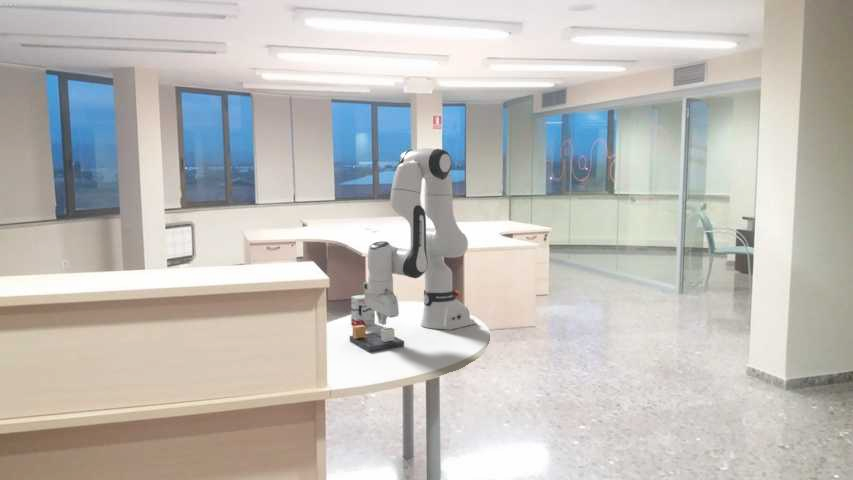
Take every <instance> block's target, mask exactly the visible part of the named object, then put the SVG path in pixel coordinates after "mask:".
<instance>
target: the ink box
mask: <svg viewBox="0 0 853 480" xmlns="http://www.w3.org/2000/svg"><path fill="white" fill-rule="evenodd" d="M350 299H351V300H350V301H351V310H350V311H351V315H350V316H351V317H350V319H351V323H350V325H352V326H358V325H364V326H366V327H367V326H373V325H375V324H376V320H375V319H376V317H375V316H376V311H375V310H373V309H371V308H369V307H367V306H366V303H365V294H358V295H352V296H351V298H350Z"/></svg>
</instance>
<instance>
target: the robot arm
mask: <svg viewBox="0 0 853 480" xmlns="http://www.w3.org/2000/svg"><path fill="white" fill-rule="evenodd" d="M397 164H398V165H397V167H396V170H395V173H394V175H393V180H392V183H391V184H392V185H391V192H390V199H389V201H390V206H391V207H392V209H393V211H394V212H395V213H396V214H397V215H399V216H401V217H402V218H403V219H405V220H406V221H407V222H408V224H409V228H410V248H409V249H406V248H398V247H396V246H393V245H391V244H390V242H388V241H383V240H382V241H377V242H374V243H372V244H370V245H369V247H368V251H367V269H368V279H367V280H368V281H366V282H363V285H362V286H363V287H362V288H363V289H364V295H365V303H366V306H367V307H369V308H371V309H373V310H375V315H376V317H377V320H378V321H377V323H378V324H380V325H381V326H384V325H386V324H387V319H388V318H389V319H390V318H396V317H398V316H399V314H400V312H399V302H398V298H397V295H395V294H394V280H393V279H394V277H393V275H398V276H405V277H408V278H412V279H419V278H420V277H422V276H423V275H424V290H423V304H424V306H423V314H422V319H421V322H420V325H421V327H423V328H427V329H437V330H450V331H451V330H455V329H459V328H465V327H469V326H472V325H475V324H476V320H475V319H473V318H471V316H470V315H471V314H470V310H469V308H468V307H467V306H466V305H464V304H463V303H462V302H461V301H460V300H458V299H457V298H458V297H460V296H461V295H462V292H461V291H460V290H459V291H458V290H453V272H452V269H451V267H449V266H448V265H447V264H446V263H445V261H444V258H449V259H453V258H460V257H462V256H464V255H465V254H466V252H467V250H468V248H469V247H468V246H469V241H468V237H467V236H466V234H464V232H463V231H462V230H461V229H460V228H459V226H458V224H457V222H456V219H455V216H454V206H453V184H452V177H451V169H452V157H451V155H450V154H449V152H448V151H446V150H444V149H442V148H428V147H427V148H426V147H425V148H420V149H419V148H418V149H408V150H406V151H405V150H404V151H403V152H402V153H401V154H400V156H399V159H398V163H397ZM423 179H424V181H425V182H424V208H423V206H422V202H421V201H422V200H421V197H422V196H421V195H422V193H421V192H422V180H423ZM427 218H428V219H429V220H430V221H431V222H432V224H433V228H432V227H427ZM468 325H469V326H468Z"/></svg>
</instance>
